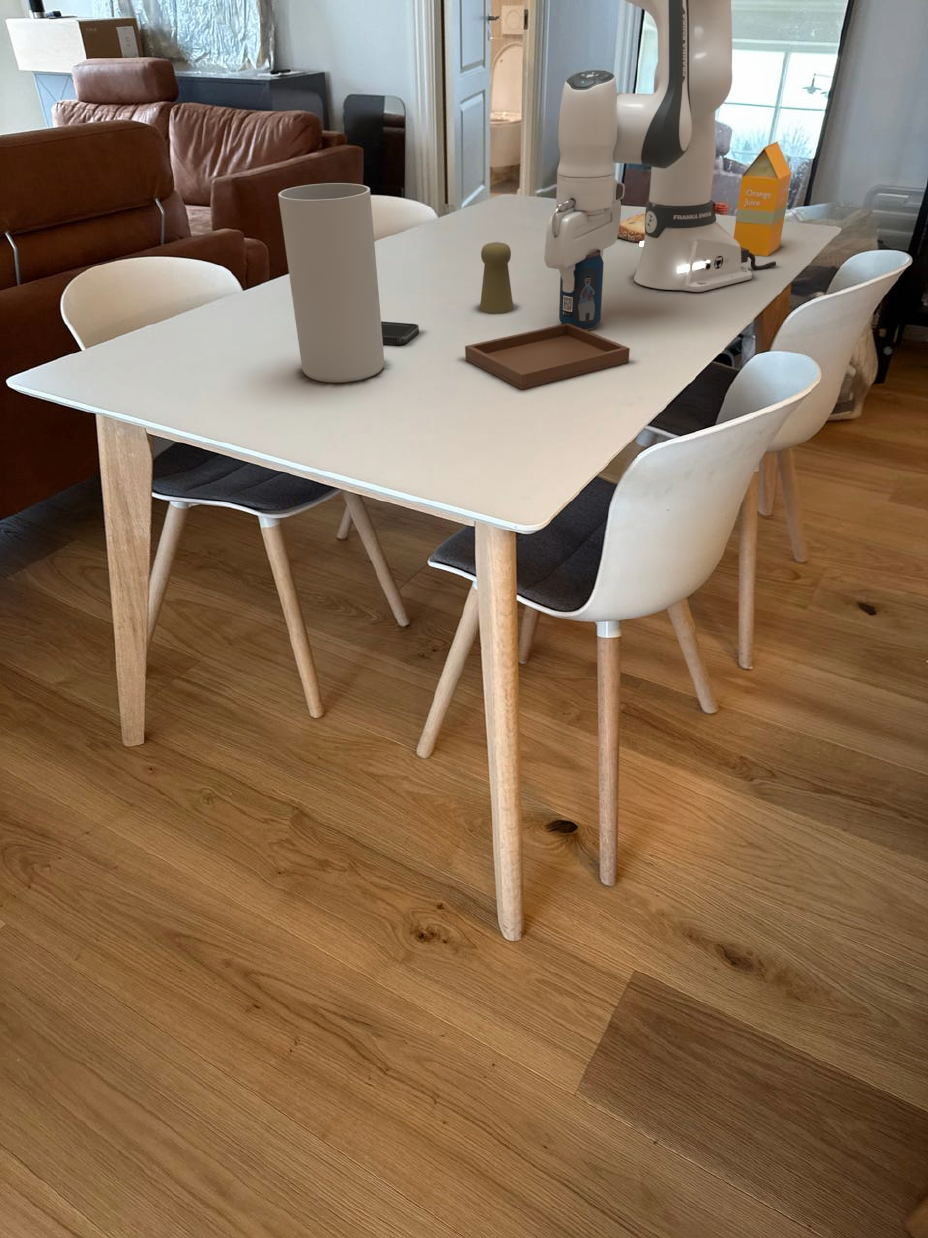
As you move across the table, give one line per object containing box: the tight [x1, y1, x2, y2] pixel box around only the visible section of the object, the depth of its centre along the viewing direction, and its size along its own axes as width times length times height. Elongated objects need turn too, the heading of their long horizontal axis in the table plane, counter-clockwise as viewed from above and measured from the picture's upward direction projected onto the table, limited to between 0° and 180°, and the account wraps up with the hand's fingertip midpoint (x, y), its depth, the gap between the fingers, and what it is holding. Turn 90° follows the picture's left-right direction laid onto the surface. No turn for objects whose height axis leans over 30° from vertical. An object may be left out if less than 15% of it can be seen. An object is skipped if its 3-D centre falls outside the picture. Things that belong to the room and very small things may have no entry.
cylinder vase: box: [277, 182, 385, 384], centre depth 131 cm, size 12×12×25 cm
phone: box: [381, 320, 420, 346], centre depth 151 cm, size 8×1×15 cm
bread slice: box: [617, 213, 645, 243], centre depth 203 cm, size 18×18×4 cm
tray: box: [464, 323, 631, 390], centre depth 138 cm, size 20×16×2 cm
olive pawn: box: [479, 241, 514, 314], centre depth 159 cm, size 6×6×11 cm
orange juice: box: [733, 141, 792, 257], centre depth 186 cm, size 8×9×20 cm
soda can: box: [558, 249, 605, 331], centre depth 149 cm, size 7×7×12 cm
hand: (580, 284), depth 149 cm, fingers closed on soda can, 7 cm apart
